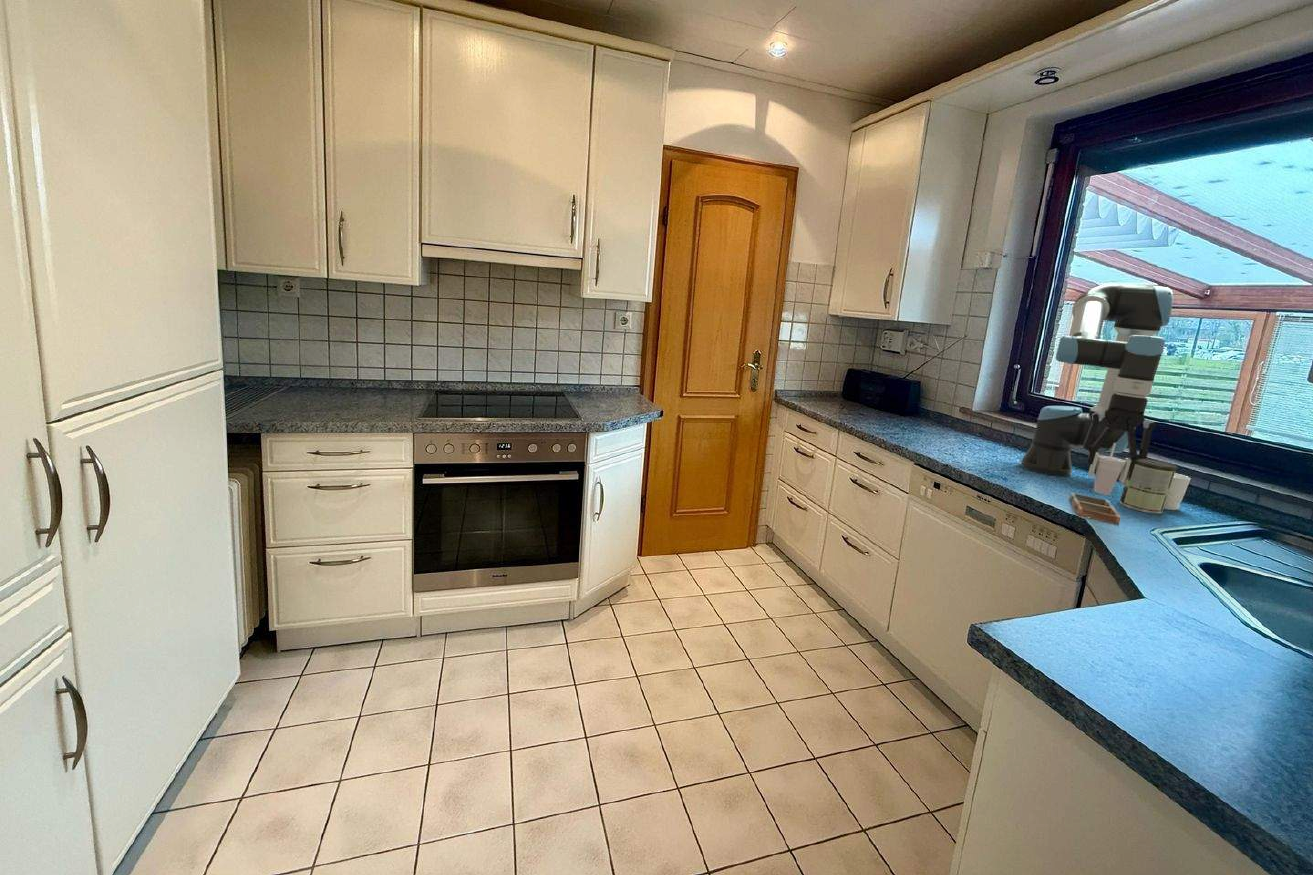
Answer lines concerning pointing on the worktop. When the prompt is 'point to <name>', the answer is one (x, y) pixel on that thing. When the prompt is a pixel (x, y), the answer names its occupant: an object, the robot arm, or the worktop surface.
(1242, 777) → the worktop surface
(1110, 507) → the dock rack
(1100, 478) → the smoothie
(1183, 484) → the white cup
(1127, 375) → the robot arm
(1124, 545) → the worktop surface
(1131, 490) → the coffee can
